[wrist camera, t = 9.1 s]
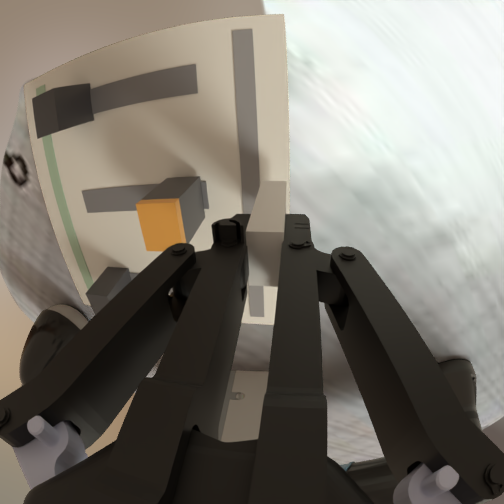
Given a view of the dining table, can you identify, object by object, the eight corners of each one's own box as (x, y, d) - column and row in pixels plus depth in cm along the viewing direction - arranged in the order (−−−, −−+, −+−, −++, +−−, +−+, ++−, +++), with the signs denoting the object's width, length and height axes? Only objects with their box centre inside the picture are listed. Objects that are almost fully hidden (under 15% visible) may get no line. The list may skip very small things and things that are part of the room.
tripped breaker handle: (200, 176, 18) (174, 202, 14) (205, 217, 20) (183, 252, 16) (167, 177, 19) (135, 204, 15) (173, 217, 20) (146, 250, 16)
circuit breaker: (184, 366, 39) (154, 455, 27) (282, 371, 37) (272, 473, 24) (198, 392, 43) (175, 471, 31) (284, 397, 41) (276, 484, 28)
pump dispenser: (44, 304, 38) (-4, 368, 25) (68, 285, 34) (8, 363, 21) (84, 345, 42) (45, 412, 29) (114, 335, 38) (69, 417, 25)
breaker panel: (285, 30, 17) (281, -6, 9) (287, 289, 29) (283, 360, 22) (58, 79, 19) (-10, 92, 12) (104, 278, 32) (66, 328, 24)
